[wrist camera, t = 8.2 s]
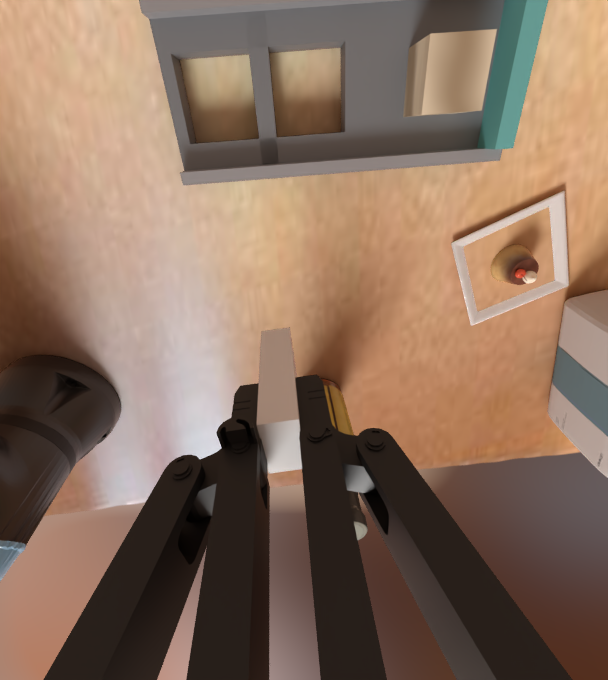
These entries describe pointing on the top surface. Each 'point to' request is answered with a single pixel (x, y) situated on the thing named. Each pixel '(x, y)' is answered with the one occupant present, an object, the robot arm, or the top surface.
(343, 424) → the sauce bottle
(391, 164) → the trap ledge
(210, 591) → the robot arm
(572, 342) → the stereo radio cassette player
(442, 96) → the maple block
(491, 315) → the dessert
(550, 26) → the top surface
